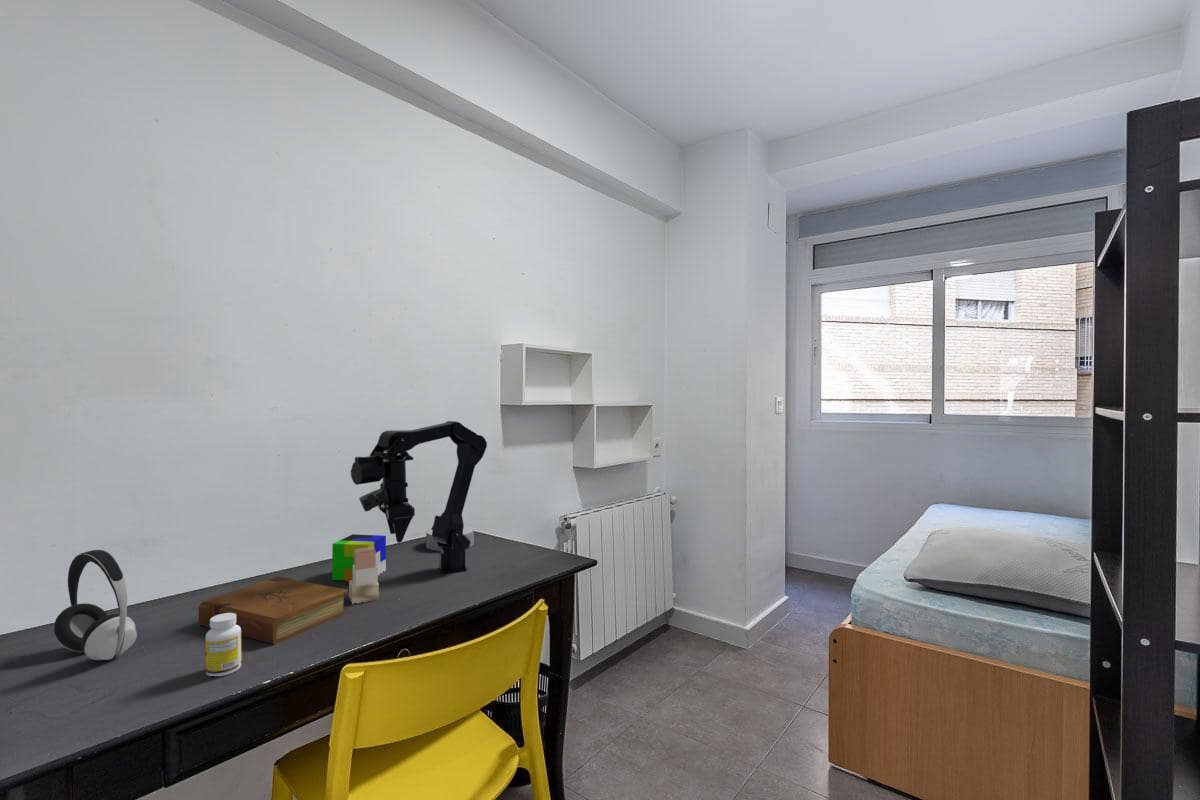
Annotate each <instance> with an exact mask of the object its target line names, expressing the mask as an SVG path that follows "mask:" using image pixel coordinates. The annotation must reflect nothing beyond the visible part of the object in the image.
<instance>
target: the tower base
mask: <svg viewBox="0 0 1200 800" xmlns="http://www.w3.org/2000/svg"><path fill="white" fill-rule="evenodd" d="M348 585H349V586H348V597H349V600H350V599H351V600H350V602H352V603H351V605H355V604H354V603H357V604H362V603H361V602H363V603H368V601H369V602H373V601H374V600H375V601H379V598H380V595H379V594H380V585H379V582H378V583H377V584H370V585H364V586H358V587H356V586H355V584H354V582H353V580H352V581H348ZM375 601H374V602H375Z"/></svg>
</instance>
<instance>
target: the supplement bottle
mask: <svg viewBox="0 0 1200 800" xmlns="http://www.w3.org/2000/svg"><path fill="white" fill-rule="evenodd" d="M235 623H236V614H235V613H224V614H219V615H216V616H214V617H212V618H211V619H210V629H209V630H208V631H207V632H206V634H205V640H204V641H205V673H206V675H207V676H208V677H211V676H215V677H214V678H216V677H217V676H218V677H224V676H228V675H231V674H233V673H235V672H236V671H238V670H239V669H240V668H241V667H242V663H243V662H242V661H243V660H242V659H243V657H242V636H241V628H240V626H238V625H236V624H235Z"/></svg>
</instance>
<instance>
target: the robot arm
mask: <svg viewBox="0 0 1200 800" xmlns="http://www.w3.org/2000/svg"><path fill="white" fill-rule="evenodd" d="M448 437H449V439H450V440H451V442H452V443H453V444H455V445H456V457H457V466H456V470H455V472H454V473H455V474H454V477H453V481H452V484H451V487H450V490H449V491H450V492H449V494H448V498H447V502H446V505H445V509H444V511H443V512H442V513H441V515H435V517H434V518H433V519H434V521H433V524H432V527H431V528H430V529H431V530H433V531H432V536H433V538H434V540H435V541H436V542H437V545H438V547H442V548H441V551H440V552H439V553H438V568H439V569H440V570H441V571H442V572H443V574H450V573H457V572H464V571H467V570H468V567H467V566H466V550H468V549H469V548H470V547H469V545H470V540H468V539H467V538H466V537H465V536H464V535H463V528H464V526H465V524H464V520H463V519H464V518H463V510H464V508H465V504H466V500H467V497H468V495H469V494H468V493H469V490H470V486H471V482H472V478H473V474H474V471H475V469H476V468H475V467H476V465H477V464H478V463H479V462H480V461H481V460H482V459H483V457H484V454H485V452H486V450H487V447H488V442H487V440H486V438H485V437H484V436H483V435H479V434H477V433H476V432H474V431H473V430H471V429H469V428H468V427H466V426H465V425H463V424H462V423H461V422H459V421H453V420H447V421H446V422H443V423H438V424H434V425H429V426H425V427H424V426H423V427H420V428H415V429H411V430H410V429H408V430H407V429H406V430H404V429H402V430H401V429H399V430H397V429H396V430H385V431H383V432H381V434H380V435H379V438H378V440H377V441H378V442H377V443H376V445H375V446H374V448H373V450H371V452H370V453H369V455H368V456H367V455H366V456H355V457H354V462H353V463H352V465H351V469H350V476H351V481H352V483H354V485H357V486H358V485H365V484H370V483H377V482H378V483H379V482H381V480H382V482H381V483H380V488H378V489H375V490H373V491H371V492H368V493H366V494H364V495H362V496H360V497H359V498H358V500H359V502H360V504H361V506H362V509H363V511H364V512H369V511H371V510H372V509H374V508H377V507H378V509H379V510H380V511H381V512H382V513H383V514H384V515H385V518H386V521H387V522H386V523H387V525H388V530H389V533H390V535H395V539H396V542H397V543H402V542H403V539H404V537H405V535H406V533H407V530H408V528H409V526H410V523H411V521H412V519H414V517H415V514H416V513H415V512H416V510H415V509H416V508H415V507H414V506H413V505H412V504H410V503H409V498H408V496H407V488H408V486H409V483H408V482H407V474H406V473H407V470H406V469H407V468H406V467H407V466H406V465H407V464H406V463H407V462H406V461H413V460H414V457H413V456H412V455H411V454H409V452H408V451H410V450H412V449H413V448H415V447H416V446H418V445H421V444H424V443H429V442H432V441H437V440H441V439H444V438H448Z"/></svg>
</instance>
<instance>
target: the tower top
mask: <svg viewBox="0 0 1200 800" xmlns="http://www.w3.org/2000/svg"><path fill="white" fill-rule="evenodd" d="M378 577H379V575H378V567H377V565H376V567H375V568H368V569H360V570H356V569H355V566H354V565H353V582H354V584H355V586H356V587H358V586H364V585H370V584H377V583H379V582H378V581H379V579H378Z"/></svg>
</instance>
